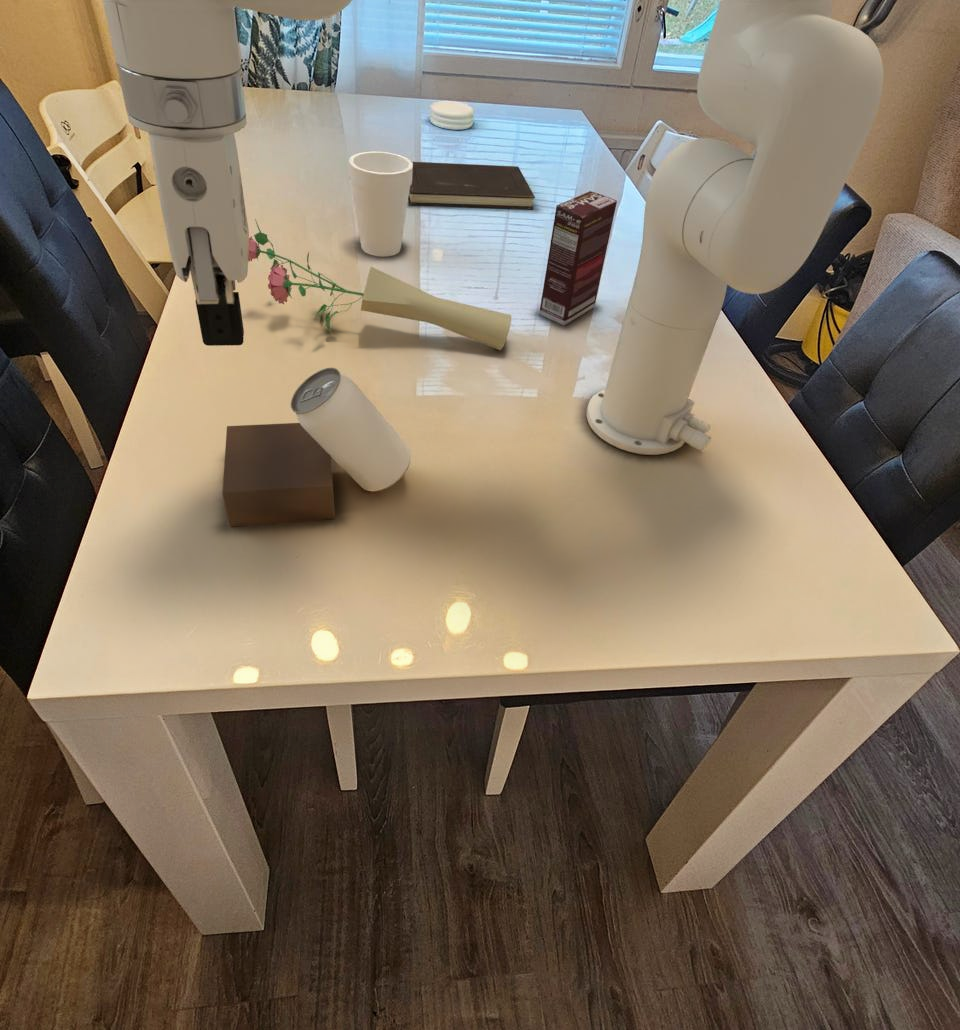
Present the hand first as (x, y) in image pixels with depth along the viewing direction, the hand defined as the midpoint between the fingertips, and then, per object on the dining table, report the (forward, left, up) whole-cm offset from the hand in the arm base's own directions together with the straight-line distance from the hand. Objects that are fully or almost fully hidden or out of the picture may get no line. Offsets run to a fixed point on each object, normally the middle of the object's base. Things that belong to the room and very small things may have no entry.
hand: (224, 340), depth 59 cm
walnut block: (-2, -2, -17) cm, 18 cm away
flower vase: (+14, -31, -18) cm, 38 cm away
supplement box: (0, -56, -18) cm, 59 cm away
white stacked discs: (+69, -107, -18) cm, 129 cm away
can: (-8, -11, -16) cm, 21 cm away
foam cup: (+32, -49, -18) cm, 61 cm away
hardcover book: (+40, -79, -18) cm, 91 cm away
